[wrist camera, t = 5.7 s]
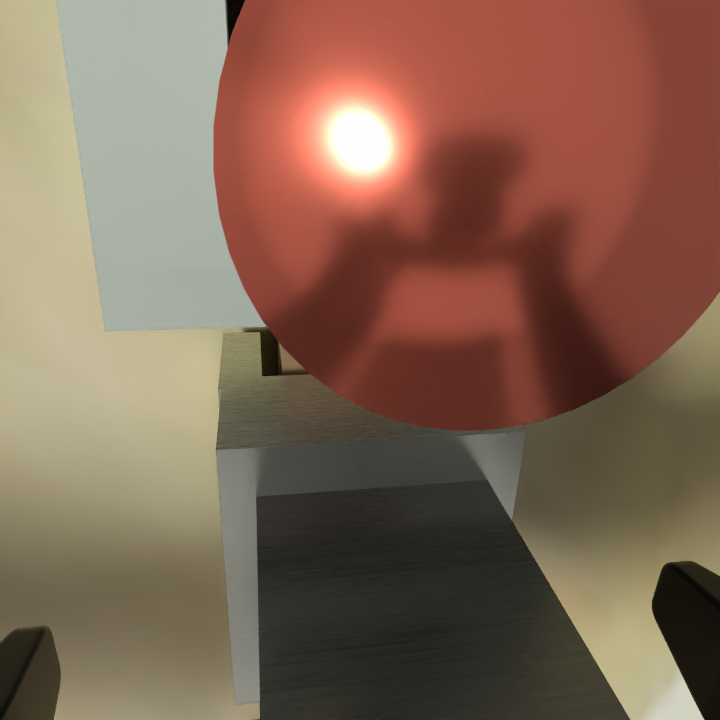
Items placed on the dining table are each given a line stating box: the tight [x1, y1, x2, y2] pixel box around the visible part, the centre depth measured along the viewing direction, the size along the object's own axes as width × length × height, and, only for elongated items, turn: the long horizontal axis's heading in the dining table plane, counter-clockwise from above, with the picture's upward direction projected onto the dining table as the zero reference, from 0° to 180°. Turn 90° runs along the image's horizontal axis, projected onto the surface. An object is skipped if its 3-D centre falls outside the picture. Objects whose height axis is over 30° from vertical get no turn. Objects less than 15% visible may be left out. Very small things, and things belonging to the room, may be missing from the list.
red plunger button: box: [213, 0, 720, 431], centre depth 6 cm, size 4×4×5 cm
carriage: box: [216, 332, 630, 720], centre depth 10 cm, size 5×4×8 cm
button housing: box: [56, 0, 267, 331], centre depth 9 cm, size 5×7×4 cm
